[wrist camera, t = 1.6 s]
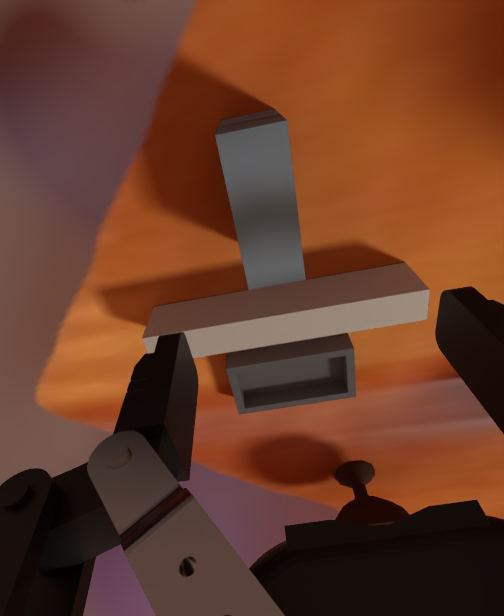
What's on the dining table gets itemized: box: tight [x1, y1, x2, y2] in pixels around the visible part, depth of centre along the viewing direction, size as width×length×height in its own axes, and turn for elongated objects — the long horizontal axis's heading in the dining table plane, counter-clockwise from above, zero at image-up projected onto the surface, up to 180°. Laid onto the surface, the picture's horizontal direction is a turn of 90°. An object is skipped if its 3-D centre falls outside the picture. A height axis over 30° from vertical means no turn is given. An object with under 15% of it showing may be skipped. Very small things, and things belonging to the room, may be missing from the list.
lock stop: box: [215, 109, 306, 290], centre depth 26 cm, size 10×4×8 cm, turn 10°
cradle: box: [226, 334, 356, 414], centre depth 39 cm, size 13×7×2 cm, turn 100°
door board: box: [142, 262, 430, 358], centre depth 33 cm, size 24×3×5 cm, turn 100°
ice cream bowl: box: [335, 461, 409, 526], centre depth 45 cm, size 11×11×15 cm
